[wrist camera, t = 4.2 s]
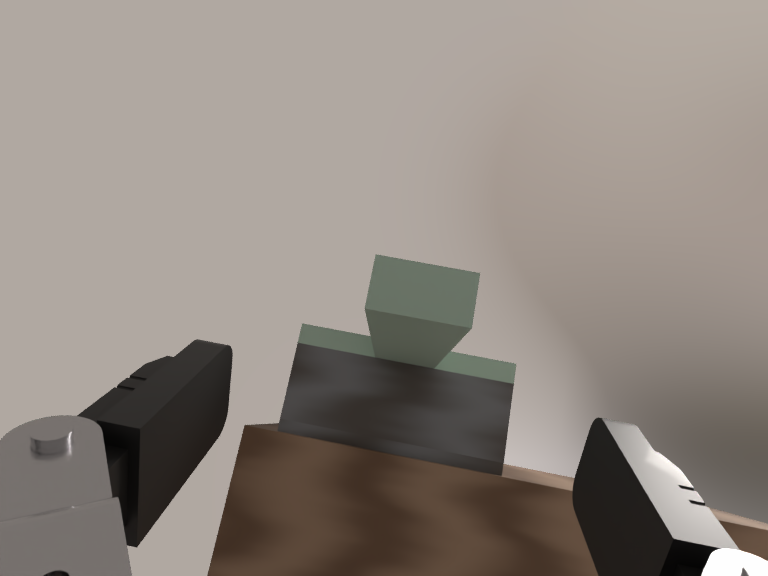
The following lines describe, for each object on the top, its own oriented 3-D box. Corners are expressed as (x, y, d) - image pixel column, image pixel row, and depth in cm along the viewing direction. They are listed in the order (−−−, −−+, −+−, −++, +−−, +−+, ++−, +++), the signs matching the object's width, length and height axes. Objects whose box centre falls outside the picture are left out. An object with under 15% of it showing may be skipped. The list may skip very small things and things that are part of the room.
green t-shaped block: (216, 316, 14) (239, 230, 15) (320, 378, 37) (328, 342, 37) (615, 392, 14) (622, 299, 14) (474, 408, 36) (479, 371, 37)
